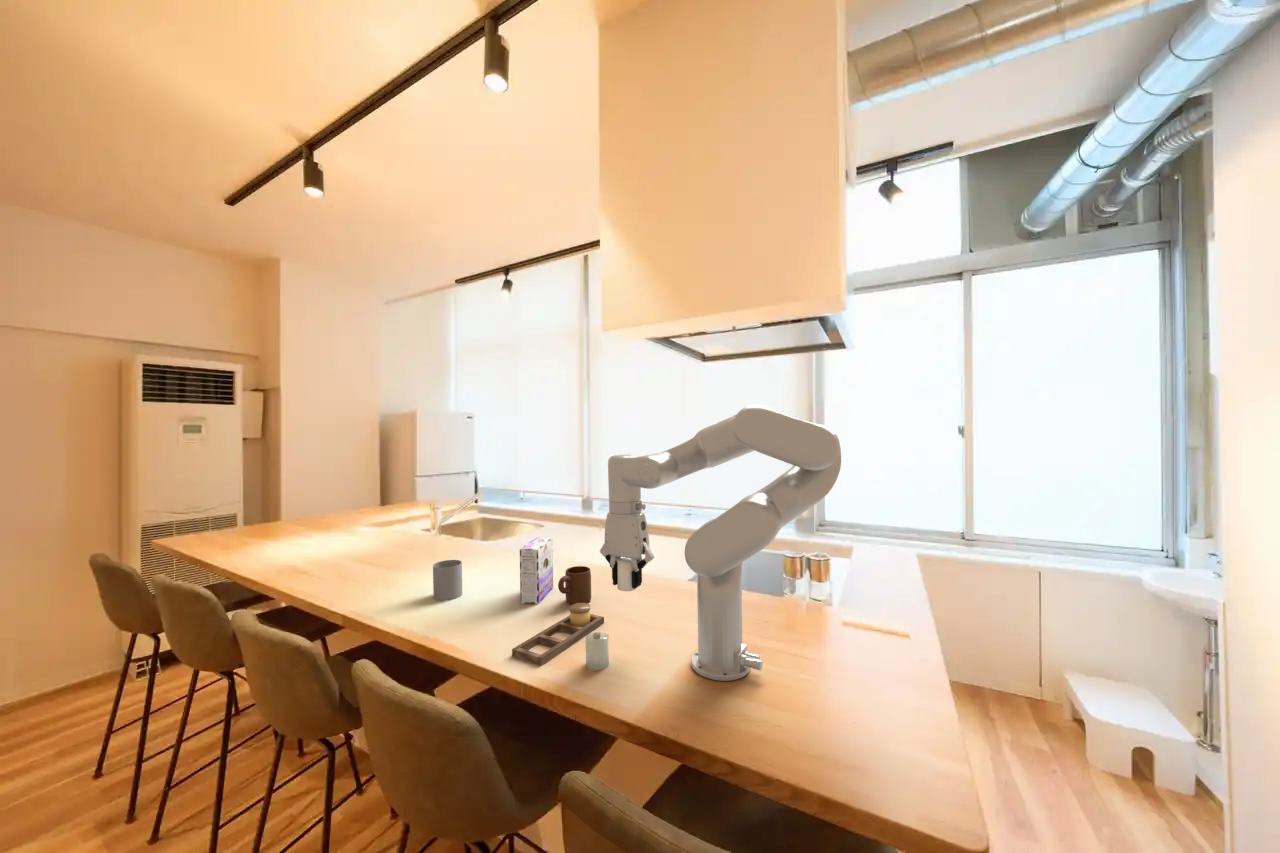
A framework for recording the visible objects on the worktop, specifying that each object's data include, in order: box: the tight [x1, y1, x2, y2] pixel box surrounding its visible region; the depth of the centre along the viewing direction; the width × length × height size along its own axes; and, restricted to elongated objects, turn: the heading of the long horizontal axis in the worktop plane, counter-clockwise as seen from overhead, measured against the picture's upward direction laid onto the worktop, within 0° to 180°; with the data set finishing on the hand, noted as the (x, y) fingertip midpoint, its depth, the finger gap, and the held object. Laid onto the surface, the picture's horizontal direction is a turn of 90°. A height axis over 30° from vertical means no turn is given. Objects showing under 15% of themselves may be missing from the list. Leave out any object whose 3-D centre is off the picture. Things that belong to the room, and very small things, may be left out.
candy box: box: [519, 537, 554, 605], centre depth 144 cm, size 14×6×16 cm, turn 172°
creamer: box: [616, 557, 636, 592], centre depth 110 cm, size 6×4×6 cm
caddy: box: [511, 613, 605, 666], centre depth 115 cm, size 9×24×2 cm, turn 150°
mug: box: [557, 565, 592, 606], centre depth 137 cm, size 12×8×9 cm, turn 147°
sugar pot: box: [585, 631, 610, 672], centre depth 102 cm, size 5×5×7 cm
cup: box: [432, 559, 463, 602], centre depth 145 cm, size 8×8×10 cm
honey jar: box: [569, 602, 591, 627], centre depth 122 cm, size 5×5×5 cm
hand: (627, 584), depth 109 cm, fingers closed on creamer, 4 cm apart
